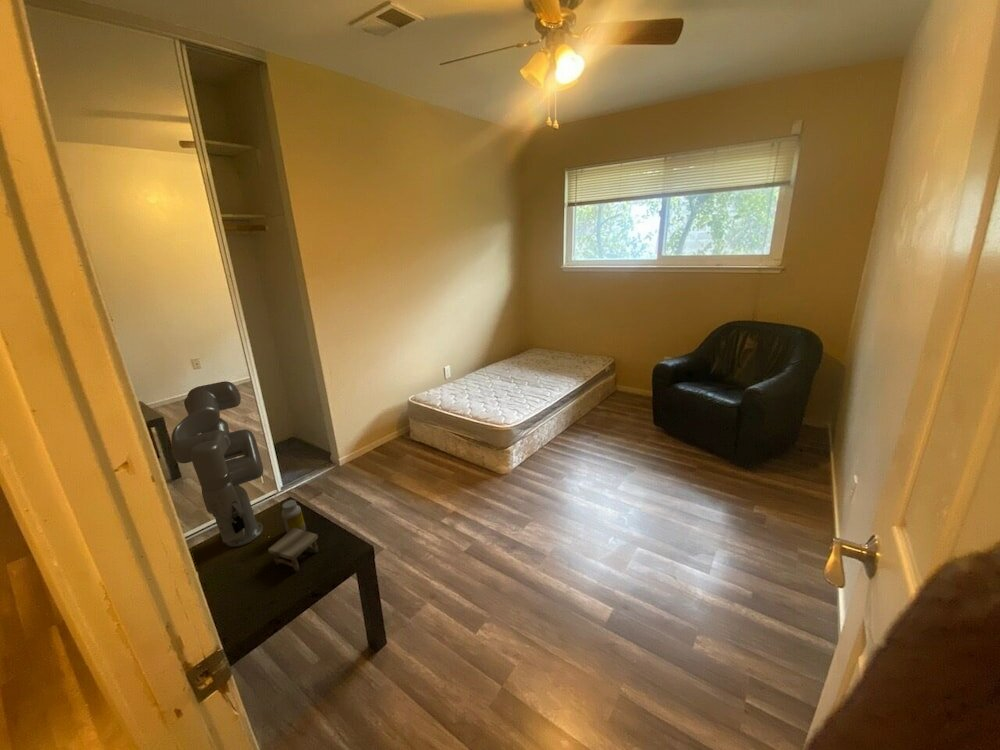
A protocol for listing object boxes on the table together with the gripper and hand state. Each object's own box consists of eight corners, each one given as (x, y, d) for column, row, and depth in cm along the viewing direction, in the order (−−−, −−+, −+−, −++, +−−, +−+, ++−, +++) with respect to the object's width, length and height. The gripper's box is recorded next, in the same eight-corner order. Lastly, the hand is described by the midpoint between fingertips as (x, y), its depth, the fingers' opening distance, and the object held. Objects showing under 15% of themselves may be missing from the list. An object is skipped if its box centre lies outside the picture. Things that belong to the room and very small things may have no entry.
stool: (272, 565, 139) (267, 549, 136) (298, 542, 148) (294, 527, 146) (296, 573, 135) (292, 557, 132) (321, 549, 144) (317, 534, 142)
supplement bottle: (310, 528, 156) (302, 500, 151) (295, 539, 150) (287, 511, 146) (297, 523, 158) (290, 496, 154) (283, 534, 153) (275, 507, 148)
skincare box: (223, 543, 125) (211, 512, 121) (223, 535, 129) (212, 504, 125) (245, 535, 129) (235, 504, 124) (245, 527, 132) (235, 496, 128)
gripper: (183, 482, 121) (201, 529, 127) (223, 494, 115) (240, 542, 121) (208, 468, 128) (224, 514, 134) (247, 479, 122) (262, 525, 128)
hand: (231, 527), depth 128 cm, fingers closed on skincare box, 6 cm apart
